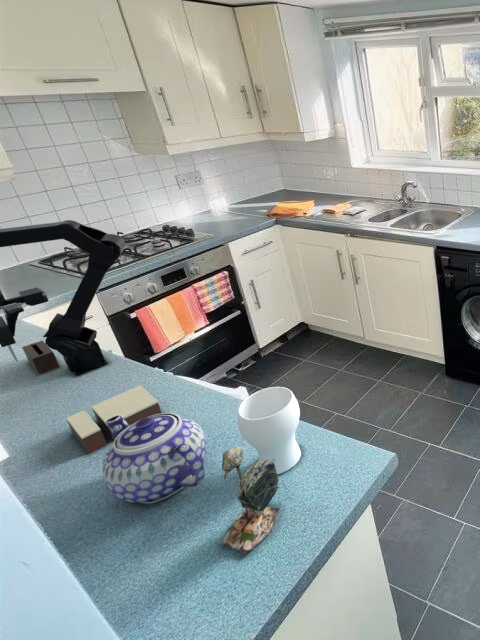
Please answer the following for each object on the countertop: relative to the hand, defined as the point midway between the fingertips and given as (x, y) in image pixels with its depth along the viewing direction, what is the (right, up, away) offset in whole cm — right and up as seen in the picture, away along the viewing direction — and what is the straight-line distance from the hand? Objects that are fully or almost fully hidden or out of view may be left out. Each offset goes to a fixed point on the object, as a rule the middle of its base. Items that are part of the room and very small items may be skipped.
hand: (5, 338), depth 105 cm
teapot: (+59, -24, -22) cm, 67 cm away
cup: (+78, -22, -17) cm, 83 cm away
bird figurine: (+81, -27, -30) cm, 91 cm away
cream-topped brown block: (+34, -20, -13) cm, 41 cm away
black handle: (0, -5, +2) cm, 6 cm away
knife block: (-3, -9, +11) cm, 15 cm away
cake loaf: (+38, -17, -7) cm, 42 cm away
